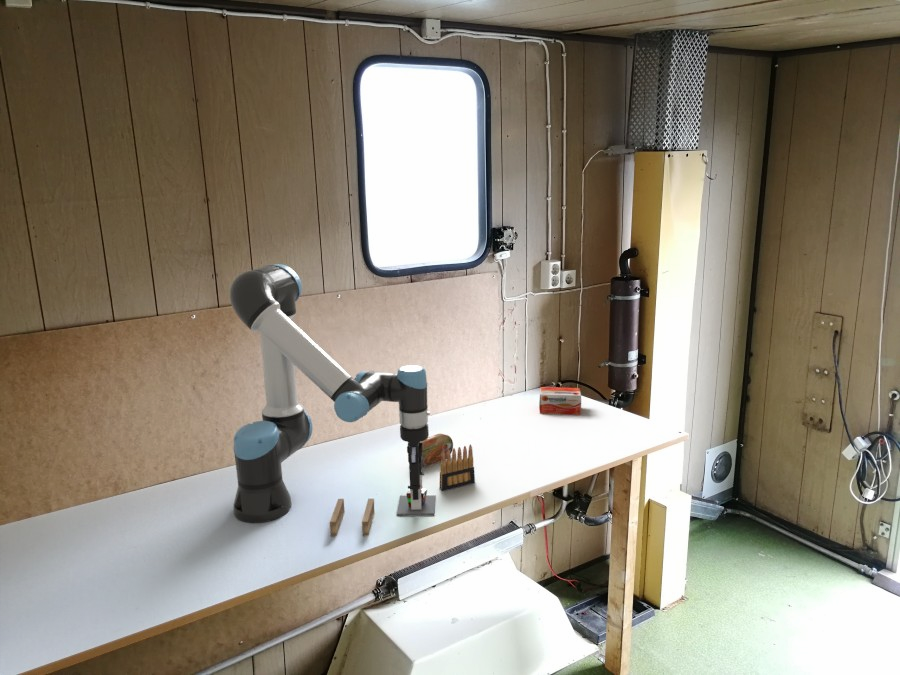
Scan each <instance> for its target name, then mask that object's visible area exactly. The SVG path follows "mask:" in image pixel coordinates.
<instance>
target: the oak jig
mask: <svg viewBox="0 0 900 675" xmlns="http://www.w3.org/2000/svg"><path fill="white" fill-rule="evenodd" d="M345 512H346V511H345V498H338V499H337V501H336V503H335V507H334V510H333V512H332V515H331V517H330V520H329V530H330V531H329V532H330V537H338V534H339V531H340V526H341V525H342V521H343V518H344V515H345ZM374 515H375V499H374V498H368V499H367V502H366V506H365V510H364V513H363V515H362V521H361V529H362V536H363V537H368V536H369V535H370V532H371V529H372V528H371V527H372V523H373V519H374V517H375V516H374Z"/></svg>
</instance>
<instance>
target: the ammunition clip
mask: <svg viewBox="0 0 900 675" xmlns="http://www.w3.org/2000/svg"><path fill="white" fill-rule="evenodd" d="M473 452H474V451H473V447H472V444H469V446H468V451H467V446H466V445H464V446H463V449H461V447H458V448H457V452H456V449H455V447H453V450H452V453H451V454H450V451H449V449H448V451H447V459H446V460H445V453H444V451H442V454H441V462H440V472H439V489H440V490H441V491H442V492H445V491H448V490H453V489H456V488H461V487H466V486H469V485H473V484H475V483H476V477H475V466H474V453H473Z"/></svg>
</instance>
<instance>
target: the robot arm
mask: <svg viewBox="0 0 900 675" xmlns="http://www.w3.org/2000/svg"><path fill="white" fill-rule="evenodd" d="M302 286H303V285H302V282H301V278H300V277H299V275H298V274H297V272H295V270H293V268H291V267H290V266H288V265H286V264H281V263H277V264H267V265H265V266H264V265H263V266H262V267H258V268H254V269H251V270H247V271H244V272H242V273H240V274H239V275H238V276H236V277H235V279H234V280H233V281H232V283H231V286H230V288H229V301H230V305H231V307H232V309H233V311H234V313H235V314H236V316H237V317H238V318H239V319H240V320H241V322H242V323H243V325H245V326H246V327H247V328H249V330H251V332H253V333H256V332H257V333H258V332H259V336H260V337H259V338H260V339H259V340H260V348H261V358H262V367H263V368H262V370H263V379H264V390H265V400H266V405H265V406H264V407H263V408H262V409H261V414H262V415H261V417H262V418H261V420H259V421H254V422H252V423H247V424H245V425H243V426H241V427H240V428H239V429H238V430H237V431H236V432H235V434H234V436H233V446H232V448H233V453H234V460H235V468H236V478H237V489H236V492H235V497H234V500H233V501H234V502H233V514H234V517H235V518H236V519H237V520H239V521H242V522H245V523H266V522H270V521H273V520H276V519H279V518H280V517H283V516H284V515H285V514H287V513H288V512H289V511H290V510H291V508H292V498H291V495H290V492H289V491H288V488H287V486H286V484H285V482H284V480H283V470H282V463H284V461H285V460H287V459H289V457H291V456H292V455H293V454H295V453H296V452H298V451H299V450H301V449H302V448H303V447H305V445H306V444H307V443H308V442H309V440H310V439H311V436H312V434H313V430H314V429H313V428H314V427H313V426H314V425H313V421H312V419H311V416H310V415H309V414H308V412H307V411H306V410H305V406H304V405H303V404H302V403H301V402H299V401H298V389H297V376H296V368H297V369H299V371H300V372H302V373H303V374H304V375H305V376H306V377H307V378H308V379H309V380H310V381H311V383H313V384H315V386H316V387H318V388H319V389H320V390H321V391H322V392H323V393H324V394H325V395H326V396H328V398H330V399H331V400H332V402H333V409H334V412H335V415H336V416H337V418H339V420H341V421H343V422H345V423H346V422H347V423H355V422H357V421H359V420H360V419H361V418H363V417H365V416H366V415H367V414H368V413H369V412H371V410H372V409H374V408H375V407H377V405H378V404H380V403H381V402H393V403H398V419H399V421H398V422H399V424H400V425H399V436H400V439H401V440H402V441H404V442H407V446H406V452H407V460H408V466H409V467H408V470H409V472H408V473H409V474H408V475H409V485H407V490H409V491H410V490H411V510H421V509H422V507H421V488H423V476H425V470H424V471H422V470H423V467H422V458H421V456H422V448H423V442H421V441H424V440H426V439H427V438H428V437H430V435H429V432H430V431H429V416H430V415H431V412H430V411H428V407H429V406H428V380H427V371H426V369H425V368H424V367H422V366H420V365H417V364H415V365H414V364H411V365H403V366H400V367H399V368H398V370H397V372H396V373H395V372H393V373H392V372H382V371H374V370H373V371H372V370H367V371H366V370H365V371H363V370H362V371H359V372H357V374H356V375H355V377H352V376H351V375H350V374H349V373H348V372H347V371H346V370H345V369H344V367H342V366H341V365H339V363H338V362H336V360H335V359H333V358H332V357H331V356H330V355H329V354H328V353H327V352H326V351H325V350H324V349H323V348H321V347H320V346H319V345H318V344H317V343H316V342H315V341H314V340H313V339H312V338H311V337H309V335H308V334H307V333H305V332H304V331H303V329H301V327H299V326H298V325H297V324H296V323H295V322H294V321H292V319H293V318H294V317H295V316H296V315H297V306H296V302H297V301H298V300H299V298H300V297H301V295H302V290H303V287H302Z"/></svg>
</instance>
